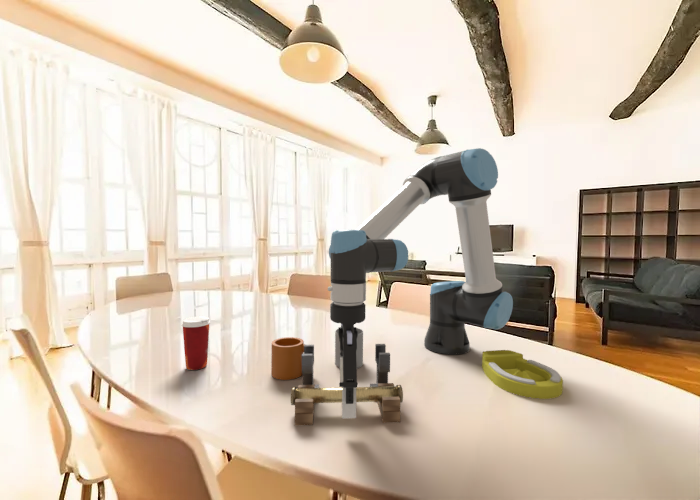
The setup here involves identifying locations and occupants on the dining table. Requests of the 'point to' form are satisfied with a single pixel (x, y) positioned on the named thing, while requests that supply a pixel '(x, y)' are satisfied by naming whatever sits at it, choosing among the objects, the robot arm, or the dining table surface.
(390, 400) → the rest
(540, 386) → the ashtray
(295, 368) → the mug
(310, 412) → the rest
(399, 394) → the rail
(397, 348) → the dining table surface
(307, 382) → the post
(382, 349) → the post
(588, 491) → the dining table surface
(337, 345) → the cup
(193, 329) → the paper cup
